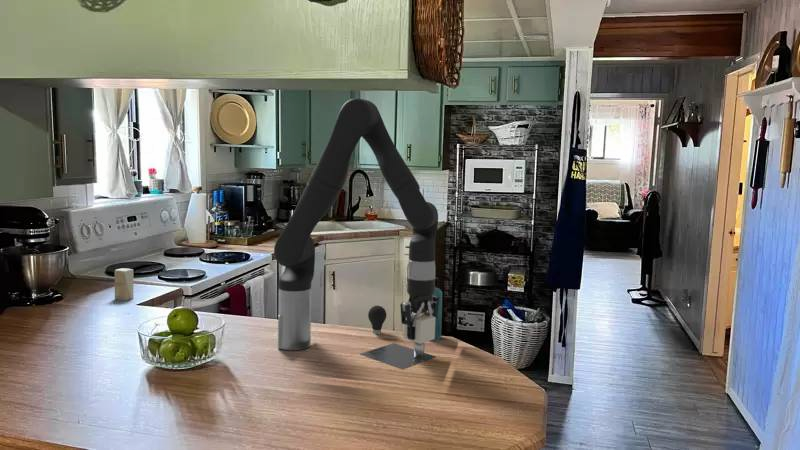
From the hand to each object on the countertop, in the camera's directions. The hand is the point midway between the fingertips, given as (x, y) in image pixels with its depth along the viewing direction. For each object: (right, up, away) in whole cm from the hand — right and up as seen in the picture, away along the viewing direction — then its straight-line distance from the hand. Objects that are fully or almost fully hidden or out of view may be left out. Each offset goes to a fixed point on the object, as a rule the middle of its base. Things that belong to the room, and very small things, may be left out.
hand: (419, 336), depth 163 cm
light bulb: (-12, -4, +21) cm, 25 cm away
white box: (0, -1, 0) cm, 1 cm away
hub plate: (-6, -7, +1) cm, 9 cm away
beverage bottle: (+4, -5, +18) cm, 19 cm away
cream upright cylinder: (-107, +3, +58) cm, 122 cm away
